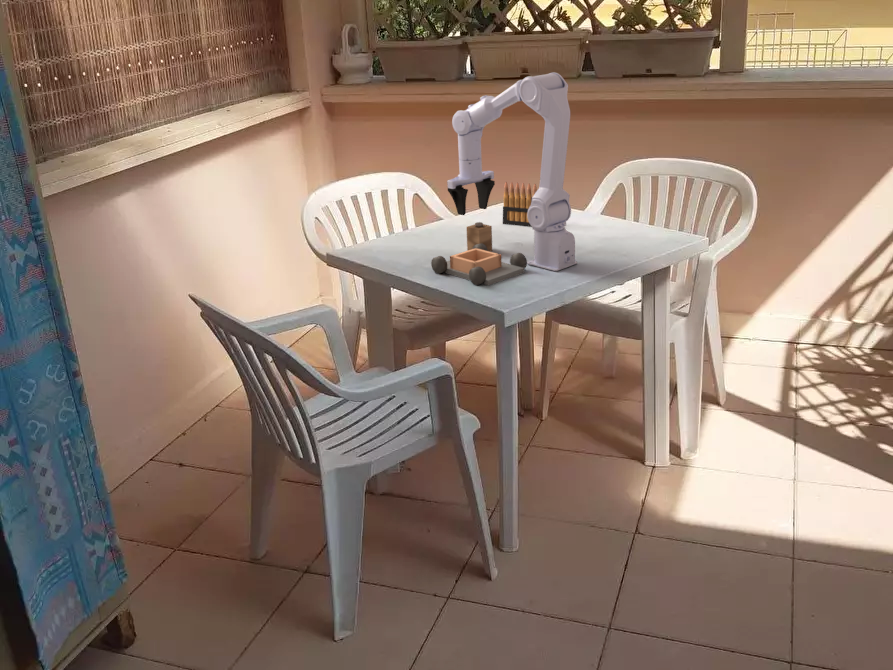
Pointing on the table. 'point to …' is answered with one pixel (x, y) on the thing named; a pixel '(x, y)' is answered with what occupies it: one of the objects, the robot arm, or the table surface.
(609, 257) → the table surface
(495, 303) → the table surface
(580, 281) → the table surface
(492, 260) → the chassis
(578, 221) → the table surface
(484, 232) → the block
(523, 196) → the ammunition clip
